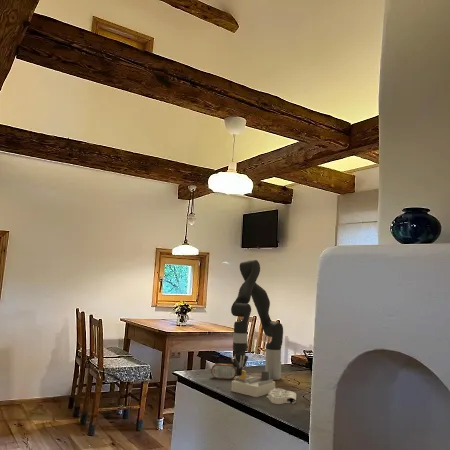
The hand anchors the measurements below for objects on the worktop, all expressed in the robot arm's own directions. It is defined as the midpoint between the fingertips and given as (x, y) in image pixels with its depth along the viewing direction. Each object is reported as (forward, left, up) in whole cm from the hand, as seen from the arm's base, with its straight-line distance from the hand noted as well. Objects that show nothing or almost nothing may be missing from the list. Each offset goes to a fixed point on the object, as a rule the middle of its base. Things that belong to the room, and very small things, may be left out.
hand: (239, 375), depth 233 cm
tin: (-18, -25, -9) cm, 32 cm away
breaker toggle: (-3, 0, -3) cm, 4 cm away
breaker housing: (-7, +4, -8) cm, 12 cm away
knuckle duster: (-5, +23, -9) cm, 25 cm away
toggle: (-11, +9, -3) cm, 15 cm away
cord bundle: (-19, +3, -8) cm, 21 cm away
